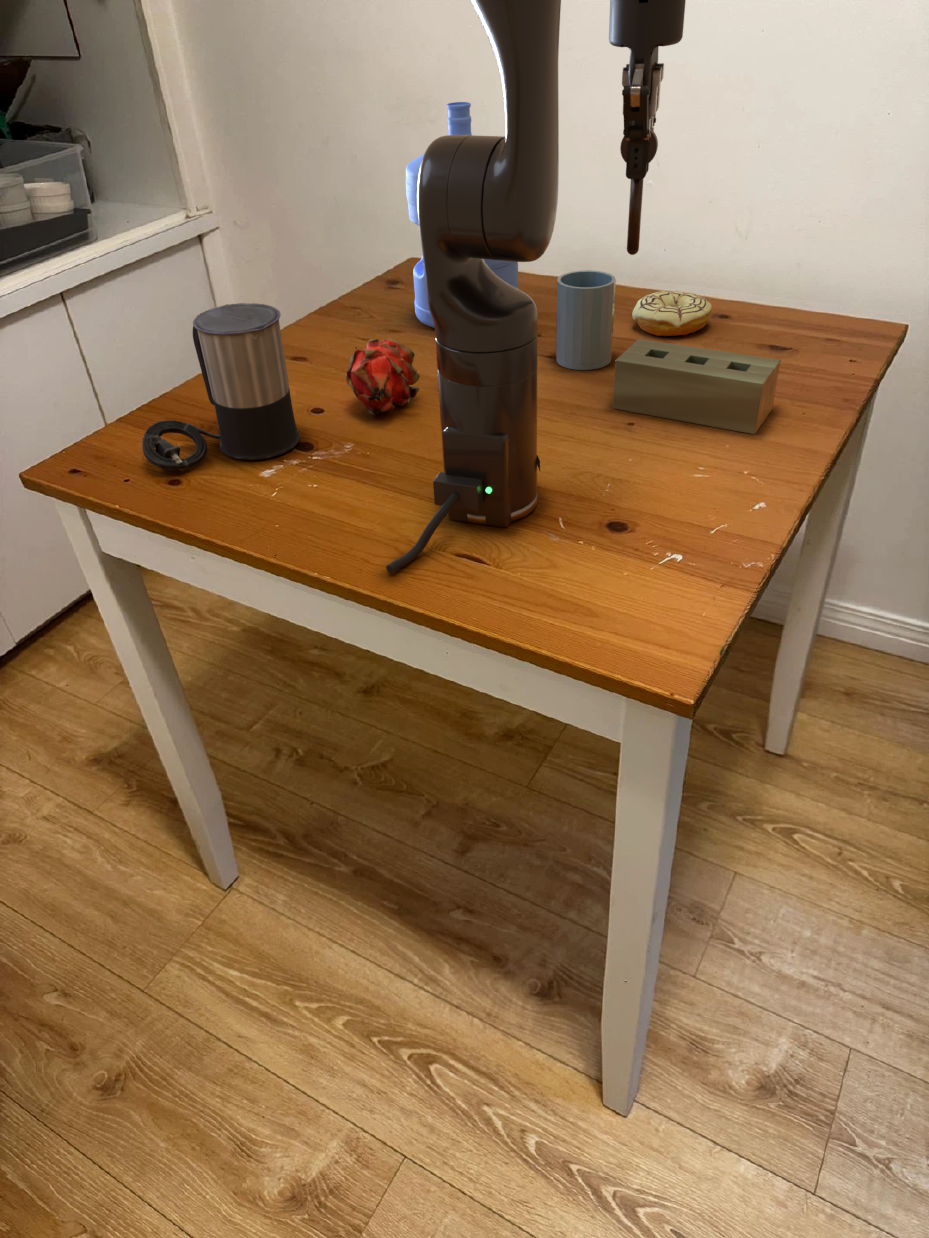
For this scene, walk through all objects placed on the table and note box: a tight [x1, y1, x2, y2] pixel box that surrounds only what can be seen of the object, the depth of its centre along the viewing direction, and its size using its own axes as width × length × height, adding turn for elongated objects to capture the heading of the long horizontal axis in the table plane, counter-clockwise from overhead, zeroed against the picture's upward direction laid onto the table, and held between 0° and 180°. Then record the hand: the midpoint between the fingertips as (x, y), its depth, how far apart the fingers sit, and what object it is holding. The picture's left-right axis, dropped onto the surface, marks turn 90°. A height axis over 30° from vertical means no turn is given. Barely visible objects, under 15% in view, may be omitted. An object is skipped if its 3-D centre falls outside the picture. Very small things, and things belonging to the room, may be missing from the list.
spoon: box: [619, 128, 659, 256], centre depth 103 cm, size 4×1×14 cm, turn 75°
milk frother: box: [141, 302, 301, 471], centre depth 100 cm, size 14×16×15 cm
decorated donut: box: [631, 290, 713, 337], centre depth 129 cm, size 10×11×4 cm
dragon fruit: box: [345, 337, 421, 417], centre depth 111 cm, size 8×8×12 cm
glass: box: [555, 269, 617, 371], centre depth 118 cm, size 7×7×10 cm
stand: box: [612, 338, 781, 435], centre depth 106 cm, size 7×17×6 cm, turn 60°
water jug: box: [405, 101, 519, 329], centre depth 129 cm, size 16×16×28 cm
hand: (636, 175), depth 102 cm, fingers closed on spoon, 1 cm apart
